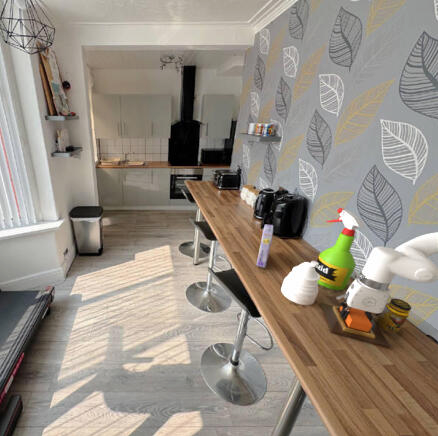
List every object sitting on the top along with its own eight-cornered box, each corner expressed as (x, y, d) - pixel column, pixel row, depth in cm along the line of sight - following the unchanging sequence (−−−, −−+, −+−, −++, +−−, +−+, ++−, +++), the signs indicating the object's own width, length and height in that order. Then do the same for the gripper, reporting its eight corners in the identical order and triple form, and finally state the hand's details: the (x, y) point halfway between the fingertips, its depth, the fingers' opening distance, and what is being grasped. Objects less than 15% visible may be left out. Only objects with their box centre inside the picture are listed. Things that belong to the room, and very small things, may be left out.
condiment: (395, 337, 85) (411, 312, 80) (366, 321, 91) (379, 297, 87) (402, 329, 88) (417, 305, 84) (373, 314, 95) (386, 290, 90)
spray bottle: (320, 266, 125) (344, 204, 111) (353, 288, 108) (386, 219, 94) (298, 268, 122) (320, 205, 108) (328, 291, 106) (359, 221, 92)
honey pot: (321, 299, 101) (336, 265, 94) (302, 308, 96) (316, 272, 88) (293, 282, 111) (304, 249, 104) (274, 289, 106) (285, 255, 99)
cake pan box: (258, 249, 138) (265, 222, 131) (267, 252, 136) (275, 224, 129) (254, 266, 122) (262, 236, 115) (265, 269, 120) (273, 238, 113)
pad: (357, 314, 91) (361, 307, 90) (368, 332, 84) (372, 325, 82) (339, 309, 93) (342, 303, 92) (348, 327, 85) (351, 320, 84)
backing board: (368, 316, 93) (371, 312, 92) (389, 348, 80) (392, 343, 79) (319, 304, 98) (321, 300, 97) (330, 332, 85) (333, 327, 84)
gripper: (347, 281, 80) (329, 320, 88) (412, 294, 75) (387, 335, 82) (340, 269, 87) (323, 306, 94) (399, 280, 81) (377, 319, 89)
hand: (353, 319), depth 88 cm, fingers closed on pad, 5 cm apart
